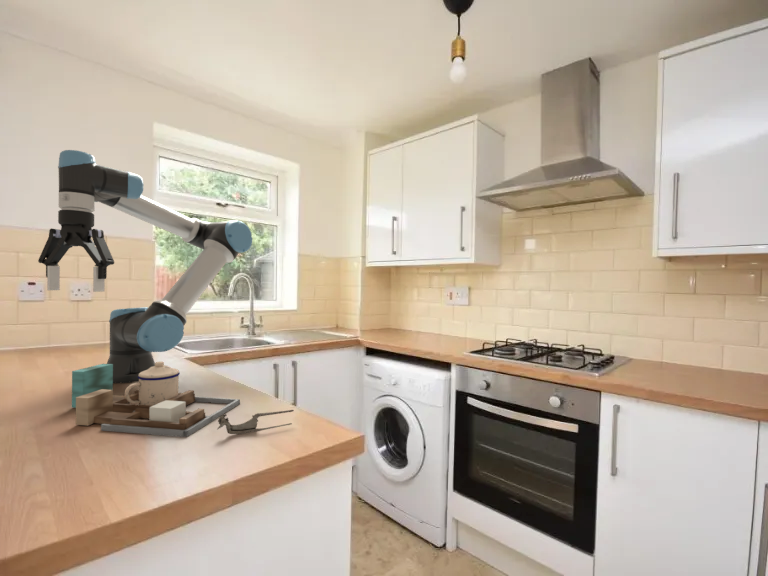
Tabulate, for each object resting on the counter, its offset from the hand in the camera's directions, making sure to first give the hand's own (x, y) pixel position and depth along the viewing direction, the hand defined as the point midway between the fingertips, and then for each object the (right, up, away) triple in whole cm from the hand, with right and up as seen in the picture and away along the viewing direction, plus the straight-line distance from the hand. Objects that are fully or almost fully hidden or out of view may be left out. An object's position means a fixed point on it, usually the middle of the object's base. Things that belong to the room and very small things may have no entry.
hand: (76, 291), depth 103 cm
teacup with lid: (+25, -30, -7) cm, 39 cm away
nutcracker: (+55, -31, -19) cm, 66 cm away
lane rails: (+33, -30, -11) cm, 46 cm away
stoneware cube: (+34, -30, -18) cm, 49 cm away
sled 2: (+28, -29, -17) cm, 44 cm away
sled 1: (+18, -29, -5) cm, 35 cm away
